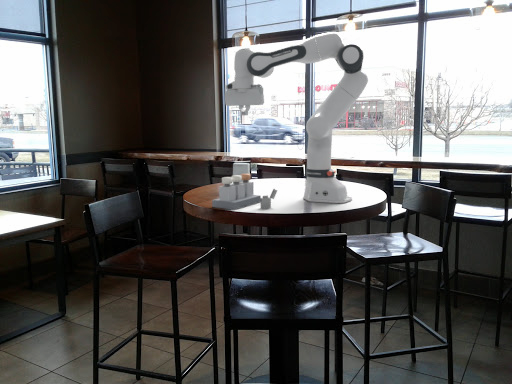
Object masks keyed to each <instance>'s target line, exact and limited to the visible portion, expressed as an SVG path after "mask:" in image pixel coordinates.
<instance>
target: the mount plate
mask: <svg viewBox="0 0 512 384" xmlns="http://www.w3.org/2000/svg"><path fill="white" fill-rule="evenodd" d="M239 184H240V185H234V184H233V183H232V184H230V187H224V185H221V186H218V195H219V197H218V198H215V199H212V201H211V202H212V204H211V205H212V208H217V209H218V208H219V209H227V210H233V211H235V210H239V209H241V208H244V207H245V208H246V207H249V206H252V205H256V204H259V203H261V198H262V197H261V195H260V194H258V195H257V194H254V182H253V181H249V182H248V183H243V182H239Z"/></svg>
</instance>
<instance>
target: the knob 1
mask: <svg viewBox="0 0 512 384" xmlns="http://www.w3.org/2000/svg"><path fill="white" fill-rule="evenodd" d="M221 184H223V186H224V187H230V184H233V182H232V176H224V177H221Z"/></svg>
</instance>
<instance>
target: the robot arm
mask: <svg viewBox="0 0 512 384" xmlns="http://www.w3.org/2000/svg"><path fill="white" fill-rule="evenodd" d="M329 59H334V60H335V61H336V64H337V65H338V66H339V68H340V69H341V70H343V77H342V78H341V79H340V80H339V82H338V83H337V84H336V86H335V87H334V88H333V89H332V90H331V92H330V93H329V95H328V96H327V97H326V99H325V100H324V101H322V103H321V104H320V106H318V107H317V109H316V110H315V111H314V113H313V114H312V115H311V116H310V117H309V119H308V120H307V121H306V125H305V129H306V130H305V131H306V133H307V136H308V137H307V139H308V140H307V149H306V150H307V151H306V169H305V179H306V181H305V182H306V183H305V190H304V195H303V199H304V200H306V201H307V202H312V203H313V202H315V203H331V204H344V203H349V202H350V201H353V200H352V199H353V198H352V196H350V195H349V196H348V192H347V187H346V185H345V184H343V183H342V182H341V181H340V180H339V179H337V178H336V177H335V174H336V173H337V172H336V170H334V169H332V145H333V144H332V142H333V129H334V128H335V127H336V126H337V124H339V123H340V121H341V120H342V118H343V117H344V116H345V115H346V113H348V111H349V110H350V109H351V107H352V106H353V105H354V104H355V102H356V101H357V100H358V98H359V97H360V96H361V95H362V93H363V92H364V91H365V89H366V86H367V84H368V82H369V79H368V76H367V74H366V73H365V72H364V71H363V70H362V68H363V62H364V50H363V49H362V47H361V46H359V44H357V43H354V42H353V43H352V42H349V43H346V44H345V43H344V41H343V38H342V36H341V35H340V34H339V33H338V32H336V31H331V32H325V33H324V32H323V33H321V34H318V35H315V36H311V37H308V38H305V39H304V40H302V41H300V42H298V43H295V44H293V45H290V46H288V47H285V48H281V49H277V50H274V51H270V52H263V51H255V50H254V49H253V50H252V48H248V47H247V48H241V49H239V50H237V51H236V52H235V54H234V66H233V67H234V81H232V82H229V83H228V84H226V85H225V90H226V91H225V93H224V104H225V105H226V107H227V106H228V107H238V109H239V111H240V115H241V116H249V111H250V109H251V106H263V105H264V103H265V95H264V87H263V85H261V84H259V83H257V84H254V83H255V81H254V79H255V78H254V77H258V78H263V79H264V78H268V77H270V76H271V75H272V74H273V72H274V69H275V67H278V66H279V67H280V66H282V65H286V64H290V63H301V64H306V65H307V64H308V65H310V64H314V63H315V64H316V63H319V62H322V61H325V60H329ZM244 108H245V110H244Z"/></svg>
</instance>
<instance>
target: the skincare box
mask: <svg viewBox="0 0 512 384" xmlns="http://www.w3.org/2000/svg"><path fill="white" fill-rule="evenodd" d="M250 168H251V165H250V162H234V163H233V164H232V176H233V175H241V174H250V175H251V173H250V171H251V170H250ZM241 182H243V180H242V181H241ZM248 182H250V180H248ZM232 184H234V182H232Z"/></svg>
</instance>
